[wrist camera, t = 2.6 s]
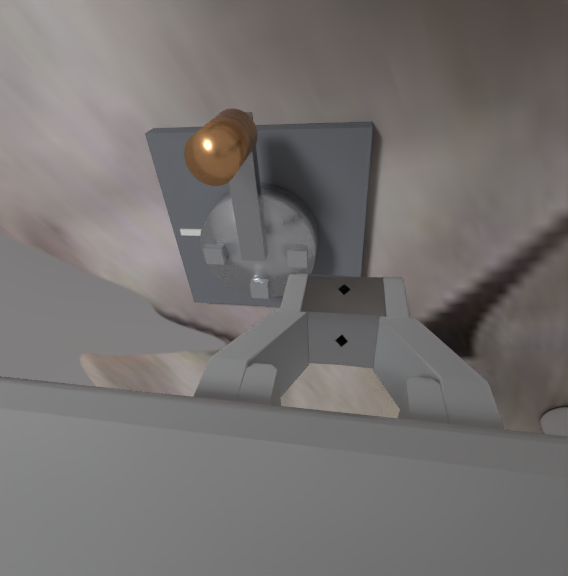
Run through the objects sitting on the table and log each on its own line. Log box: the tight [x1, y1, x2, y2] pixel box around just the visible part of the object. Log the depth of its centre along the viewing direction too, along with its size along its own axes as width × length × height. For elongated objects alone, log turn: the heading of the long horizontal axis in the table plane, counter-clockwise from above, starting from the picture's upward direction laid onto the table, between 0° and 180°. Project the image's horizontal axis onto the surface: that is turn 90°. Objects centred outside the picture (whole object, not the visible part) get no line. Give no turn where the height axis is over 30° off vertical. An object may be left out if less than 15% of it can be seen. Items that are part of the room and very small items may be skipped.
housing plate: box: [145, 122, 373, 307], centre depth 33 cm, size 18×18×2 cm
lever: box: [184, 109, 318, 299], centre depth 27 cm, size 16×10×9 cm, turn 4°
